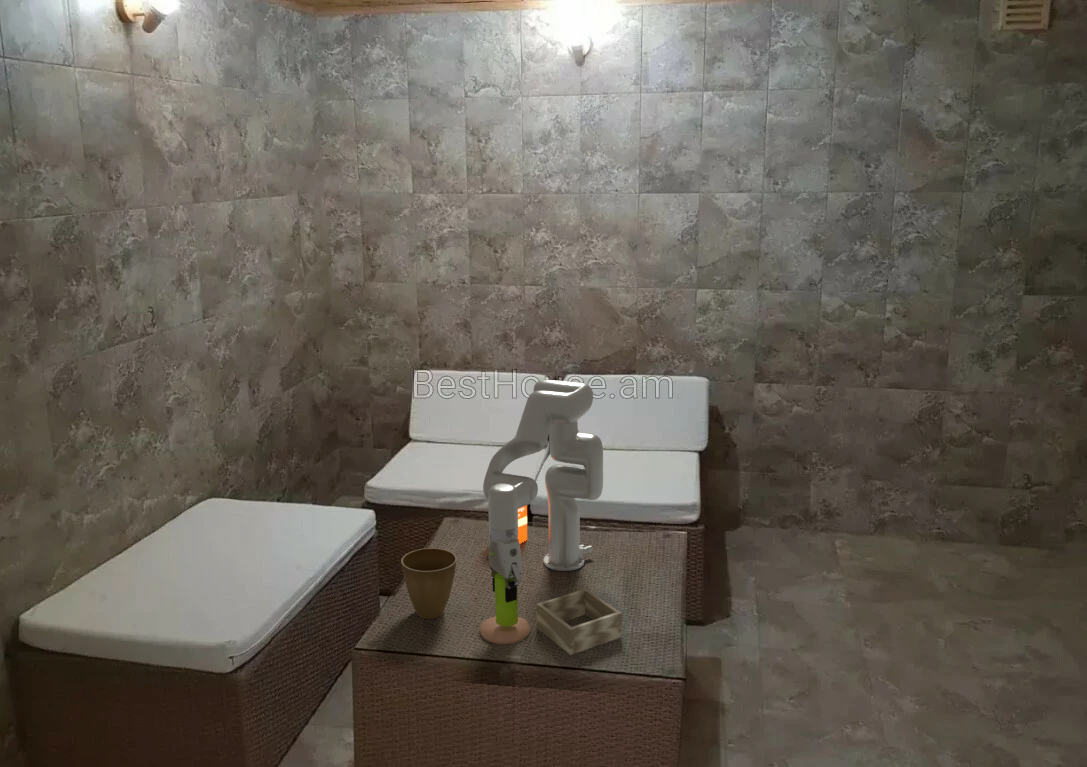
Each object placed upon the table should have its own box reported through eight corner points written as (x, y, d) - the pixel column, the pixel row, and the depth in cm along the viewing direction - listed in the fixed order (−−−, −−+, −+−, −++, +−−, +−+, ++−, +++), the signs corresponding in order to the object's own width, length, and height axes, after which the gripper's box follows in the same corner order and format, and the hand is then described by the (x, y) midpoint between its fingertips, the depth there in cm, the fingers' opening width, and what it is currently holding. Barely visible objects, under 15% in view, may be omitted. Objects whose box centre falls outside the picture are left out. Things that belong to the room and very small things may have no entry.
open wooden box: (586, 611, 249) (586, 588, 247) (621, 637, 236) (621, 612, 234) (536, 627, 240) (536, 603, 239) (570, 655, 227) (570, 629, 226)
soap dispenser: (491, 616, 241) (489, 546, 236) (517, 614, 241) (515, 545, 237) (492, 627, 235) (489, 556, 230) (518, 625, 236) (516, 555, 231)
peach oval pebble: (513, 614, 247) (513, 610, 247) (539, 635, 237) (538, 631, 236) (471, 627, 241) (471, 623, 240) (495, 649, 230) (495, 645, 230)
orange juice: (527, 540, 295) (527, 482, 290) (508, 548, 289) (507, 490, 284) (510, 533, 300) (510, 477, 295) (491, 541, 294) (490, 484, 289)
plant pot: (435, 631, 239) (433, 575, 235) (392, 616, 247) (389, 562, 243) (469, 607, 251) (467, 554, 247) (427, 594, 259) (424, 543, 255)
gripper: (533, 540, 227) (534, 605, 231) (499, 517, 241) (500, 579, 245) (507, 547, 223) (508, 613, 227) (474, 523, 237) (476, 586, 241)
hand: (504, 595), depth 236 cm, fingers closed on soap dispenser, 5 cm apart
